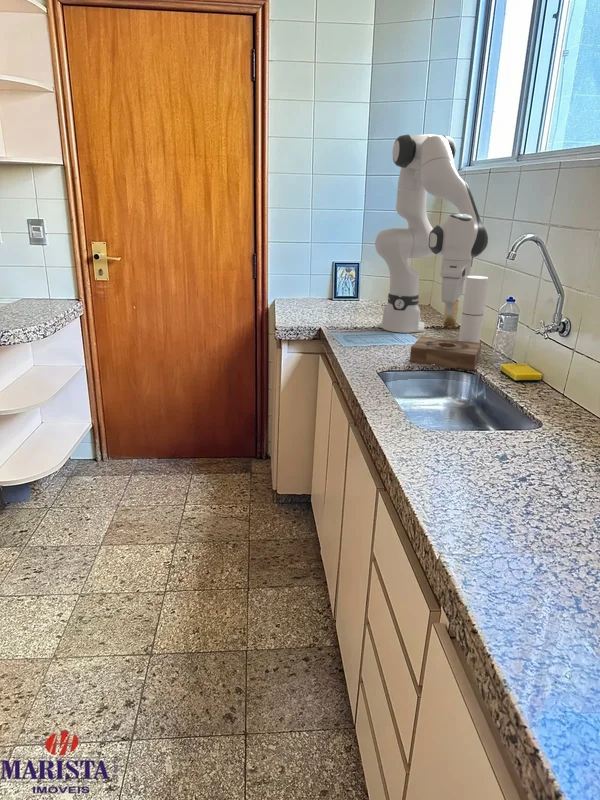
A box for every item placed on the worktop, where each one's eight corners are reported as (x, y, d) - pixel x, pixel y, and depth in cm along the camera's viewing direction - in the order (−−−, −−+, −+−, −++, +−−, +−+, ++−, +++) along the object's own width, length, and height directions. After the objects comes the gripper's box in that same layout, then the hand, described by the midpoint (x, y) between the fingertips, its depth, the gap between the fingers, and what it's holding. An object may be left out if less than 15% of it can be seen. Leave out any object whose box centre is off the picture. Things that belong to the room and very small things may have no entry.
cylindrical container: (456, 349, 194) (465, 277, 186) (459, 345, 201) (467, 275, 192) (477, 352, 192) (487, 279, 183) (479, 347, 198) (489, 276, 190)
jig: (419, 350, 192) (421, 336, 191) (479, 357, 185) (481, 343, 183) (409, 361, 178) (411, 346, 177) (473, 370, 171) (475, 354, 169)
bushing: (444, 323, 180) (446, 298, 177) (456, 324, 179) (459, 299, 176) (441, 325, 177) (444, 300, 174) (454, 326, 175) (457, 301, 172)
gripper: (450, 265, 182) (445, 307, 186) (439, 271, 164) (434, 317, 169) (470, 266, 179) (465, 308, 184) (461, 272, 162) (456, 319, 166)
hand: (450, 313), depth 176 cm, fingers closed on bushing, 4 cm apart
